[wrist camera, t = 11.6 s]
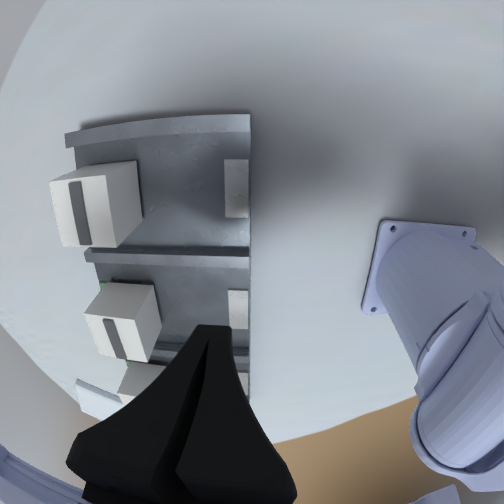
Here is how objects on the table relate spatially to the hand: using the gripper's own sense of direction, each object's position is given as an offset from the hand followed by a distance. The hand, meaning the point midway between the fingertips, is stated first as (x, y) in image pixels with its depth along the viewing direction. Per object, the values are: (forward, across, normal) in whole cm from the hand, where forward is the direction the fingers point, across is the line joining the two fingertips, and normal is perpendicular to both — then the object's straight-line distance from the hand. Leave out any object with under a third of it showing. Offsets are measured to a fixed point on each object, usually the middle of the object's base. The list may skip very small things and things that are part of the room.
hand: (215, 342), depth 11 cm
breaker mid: (+9, +8, +5) cm, 13 cm away
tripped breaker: (+9, +8, +14) cm, 18 cm away
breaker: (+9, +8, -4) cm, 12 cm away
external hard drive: (+11, +16, +26) cm, 32 cm away
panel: (+10, +5, +5) cm, 12 cm away
